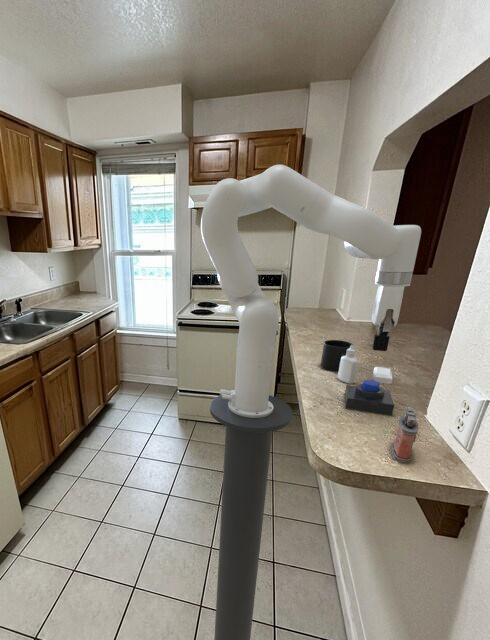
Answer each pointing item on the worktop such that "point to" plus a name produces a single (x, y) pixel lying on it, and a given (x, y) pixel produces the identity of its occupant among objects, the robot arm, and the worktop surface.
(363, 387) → the blue button cap
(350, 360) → the eye dropper bottle
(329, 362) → the mug
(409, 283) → the robot arm
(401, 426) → the lighter
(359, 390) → the button housing
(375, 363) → the worktop surface
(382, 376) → the soap bar
